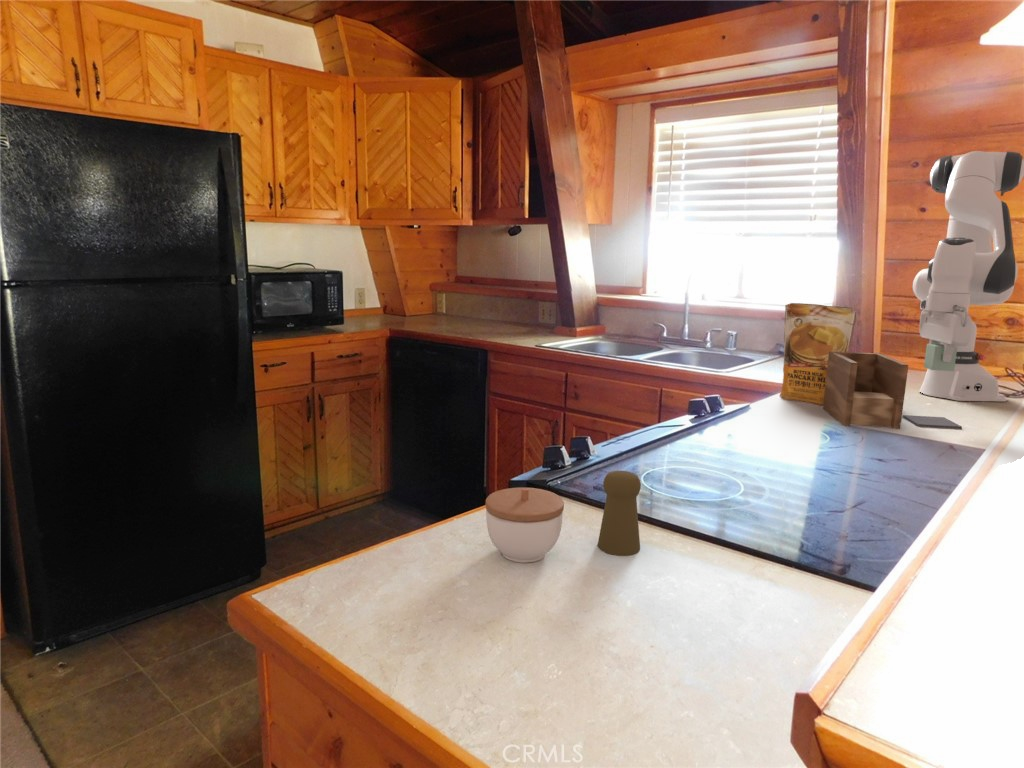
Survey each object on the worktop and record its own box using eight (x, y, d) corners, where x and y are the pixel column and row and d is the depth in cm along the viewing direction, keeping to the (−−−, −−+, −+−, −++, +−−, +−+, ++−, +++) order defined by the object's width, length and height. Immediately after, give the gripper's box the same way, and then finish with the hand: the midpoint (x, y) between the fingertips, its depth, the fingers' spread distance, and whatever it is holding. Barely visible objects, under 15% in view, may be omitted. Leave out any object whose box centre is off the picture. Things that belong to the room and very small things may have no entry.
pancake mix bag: (781, 394, 206) (790, 302, 201) (847, 405, 193) (858, 306, 188) (771, 397, 202) (780, 302, 196) (838, 408, 188) (849, 307, 183)
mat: (943, 419, 178) (944, 417, 178) (961, 429, 168) (961, 426, 168) (902, 417, 179) (902, 415, 179) (917, 426, 170) (918, 424, 170)
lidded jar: (537, 532, 101) (539, 472, 100) (577, 561, 92) (579, 495, 90) (472, 545, 96) (472, 482, 95) (507, 577, 87) (508, 508, 85)
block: (944, 368, 173) (948, 344, 172) (953, 371, 168) (957, 347, 167) (923, 367, 174) (926, 343, 173) (931, 370, 169) (935, 346, 168)
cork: (622, 535, 101) (626, 464, 99) (649, 550, 96) (653, 476, 94) (589, 542, 98) (592, 469, 96) (614, 559, 93) (618, 482, 91)
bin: (873, 411, 186) (880, 353, 183) (900, 429, 167) (908, 364, 164) (822, 408, 188) (829, 351, 185) (843, 425, 169) (851, 362, 166)
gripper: (982, 307, 157) (973, 366, 160) (943, 302, 177) (936, 354, 180) (952, 306, 158) (944, 365, 161) (917, 301, 178) (910, 353, 181)
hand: (939, 359), depth 171 cm, fingers closed on block, 5 cm apart
